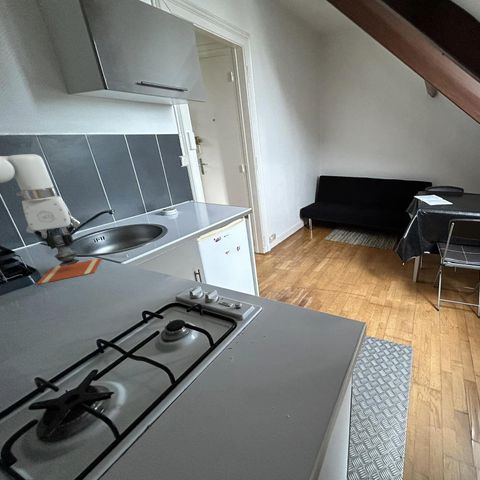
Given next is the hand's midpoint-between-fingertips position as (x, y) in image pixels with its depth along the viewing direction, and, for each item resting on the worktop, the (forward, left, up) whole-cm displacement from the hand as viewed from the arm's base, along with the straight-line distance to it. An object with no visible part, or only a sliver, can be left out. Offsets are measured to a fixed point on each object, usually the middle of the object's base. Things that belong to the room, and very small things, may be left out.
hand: (62, 245), depth 91 cm
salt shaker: (0, 0, -7) cm, 7 cm away
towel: (0, 0, -10) cm, 10 cm away
